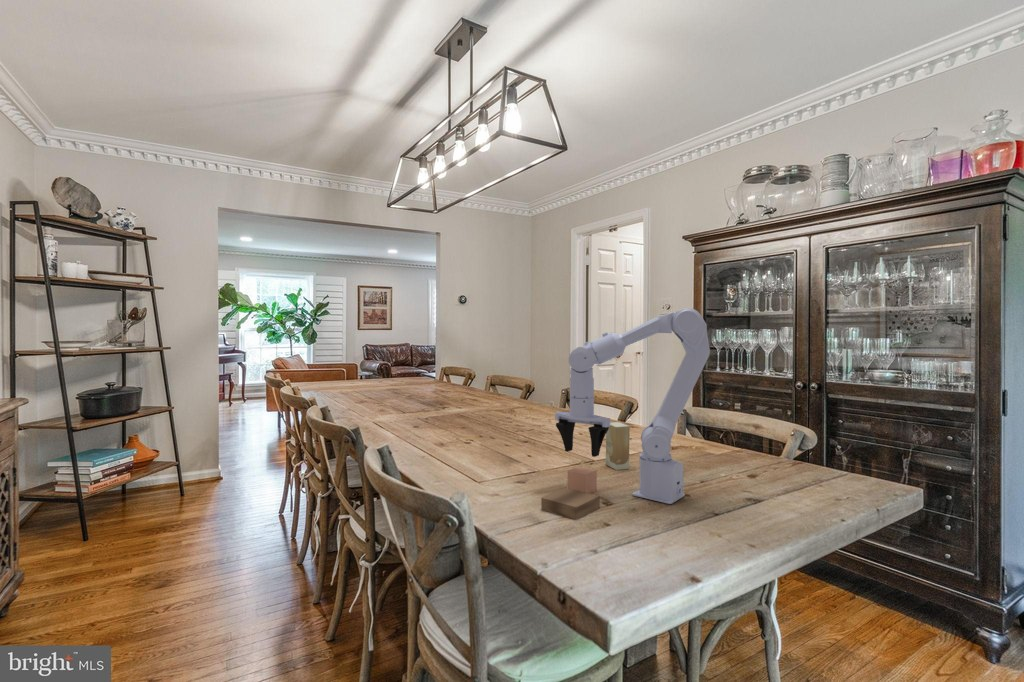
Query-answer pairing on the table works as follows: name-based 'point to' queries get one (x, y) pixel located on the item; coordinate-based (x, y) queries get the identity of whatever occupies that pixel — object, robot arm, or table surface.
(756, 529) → the table surface
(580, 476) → the terracotta cube
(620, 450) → the skincare box
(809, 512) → the table surface
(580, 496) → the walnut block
